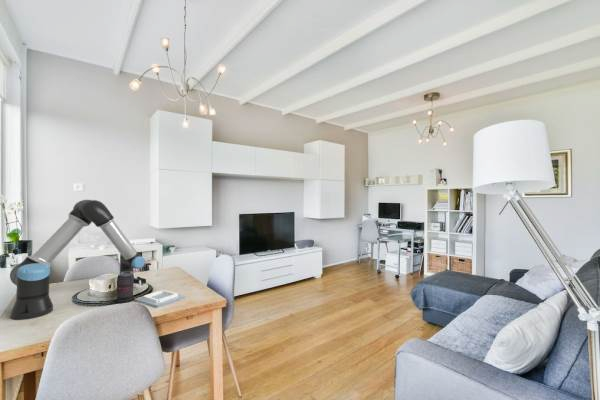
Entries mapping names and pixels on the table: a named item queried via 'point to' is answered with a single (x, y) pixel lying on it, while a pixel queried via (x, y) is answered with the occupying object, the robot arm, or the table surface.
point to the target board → (160, 298)
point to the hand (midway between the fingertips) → (126, 287)
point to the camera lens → (125, 287)
